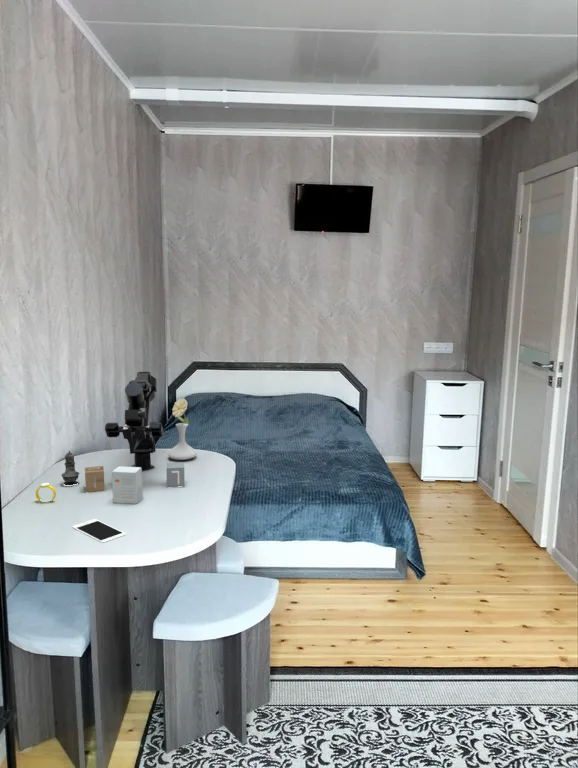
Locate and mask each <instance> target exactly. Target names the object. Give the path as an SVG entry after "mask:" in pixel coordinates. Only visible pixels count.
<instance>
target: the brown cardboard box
mask: <svg viewBox="0 0 578 768" xmlns="http://www.w3.org/2000/svg"><path fill="white" fill-rule="evenodd" d="M84 479H85V480H84V481H85V484H84V485H85V493H86V492H88V493H96V492H95V491H99V492H105V469H104V465H97V466H85V467H84Z"/></svg>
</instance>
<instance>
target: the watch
mask: <svg viewBox="0 0 578 768" xmlns="http://www.w3.org/2000/svg"><path fill="white" fill-rule="evenodd" d="M41 488H43V489H45V488H49V489H51V491H52V492H53V493H52V494H53V497H52V498H51V499H50V500H51V502H53V501H54V500H55V499H56V496H57V490H56V489H55V488H54V486H52V485H51V484H50V482H43V483H40V485H39V486H38V487H37V488H36V490H35V498H36V499H37V501H39V500H40V499H42V497H40V495H39V490H40V489H41Z"/></svg>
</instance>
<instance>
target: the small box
mask: <svg viewBox="0 0 578 768" xmlns="http://www.w3.org/2000/svg"><path fill="white" fill-rule="evenodd" d="M142 471H143V470H142V468H141V467H131V466H122V465H121V466H120V465H119V466H117V467H115V469H113V470H112V471H111V480H112V483H111V484H112V500H113V501H112V502H113V503H114V502H116V503H118V504H133V505H134V504H135V505H137V504H138V503H139V502H140V501H141V500H142V499H143V498H144V495H143V472H142Z"/></svg>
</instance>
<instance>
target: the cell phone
mask: <svg viewBox="0 0 578 768" xmlns="http://www.w3.org/2000/svg"><path fill="white" fill-rule="evenodd" d="M71 528H72V529H74V530H75V531H78V532H80V533H82V534H83V535H86V536H87V537H90V538H91V539H93V540H95V541H97V542H99V543H101V544H105V543H108V542H110V541H114V540H116V539H119V538H121V537H125V536H127V533H126V532H124V531H122V530H120V529H118V528H116V527H114V526H111V525H109V524H108V523H105V522H103V521H101V520H99V519H97V518H93V519H90V520H87V521H84V522H81V523H77V524H75V525H71Z"/></svg>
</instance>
